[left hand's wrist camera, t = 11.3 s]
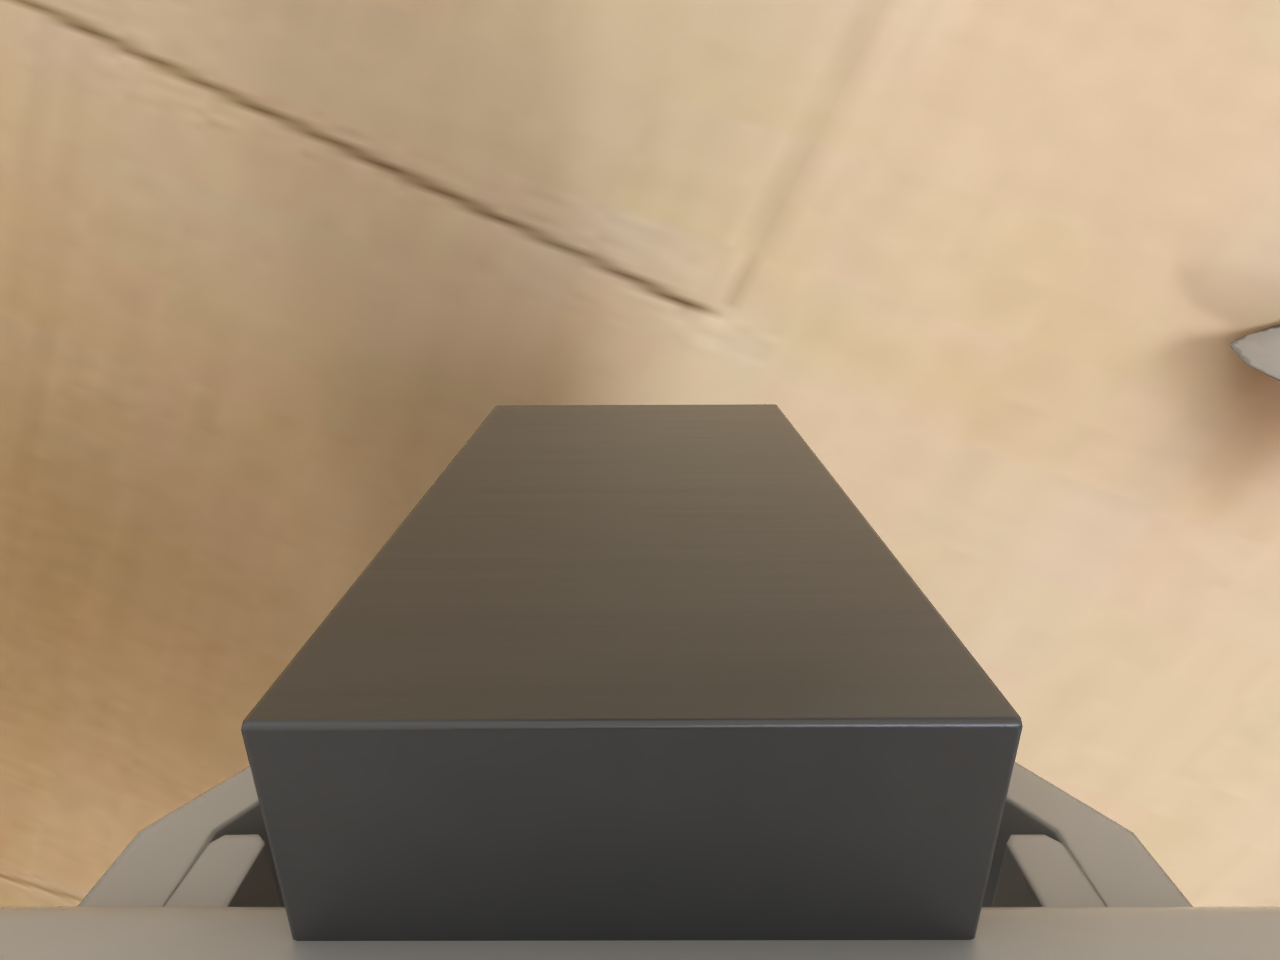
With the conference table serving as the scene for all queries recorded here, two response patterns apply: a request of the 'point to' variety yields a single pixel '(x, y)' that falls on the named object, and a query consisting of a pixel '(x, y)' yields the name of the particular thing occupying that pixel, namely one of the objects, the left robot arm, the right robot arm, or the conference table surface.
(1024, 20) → the conference table surface
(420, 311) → the conference table surface
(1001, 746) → the bar
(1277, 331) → the fish
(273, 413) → the conference table surface
